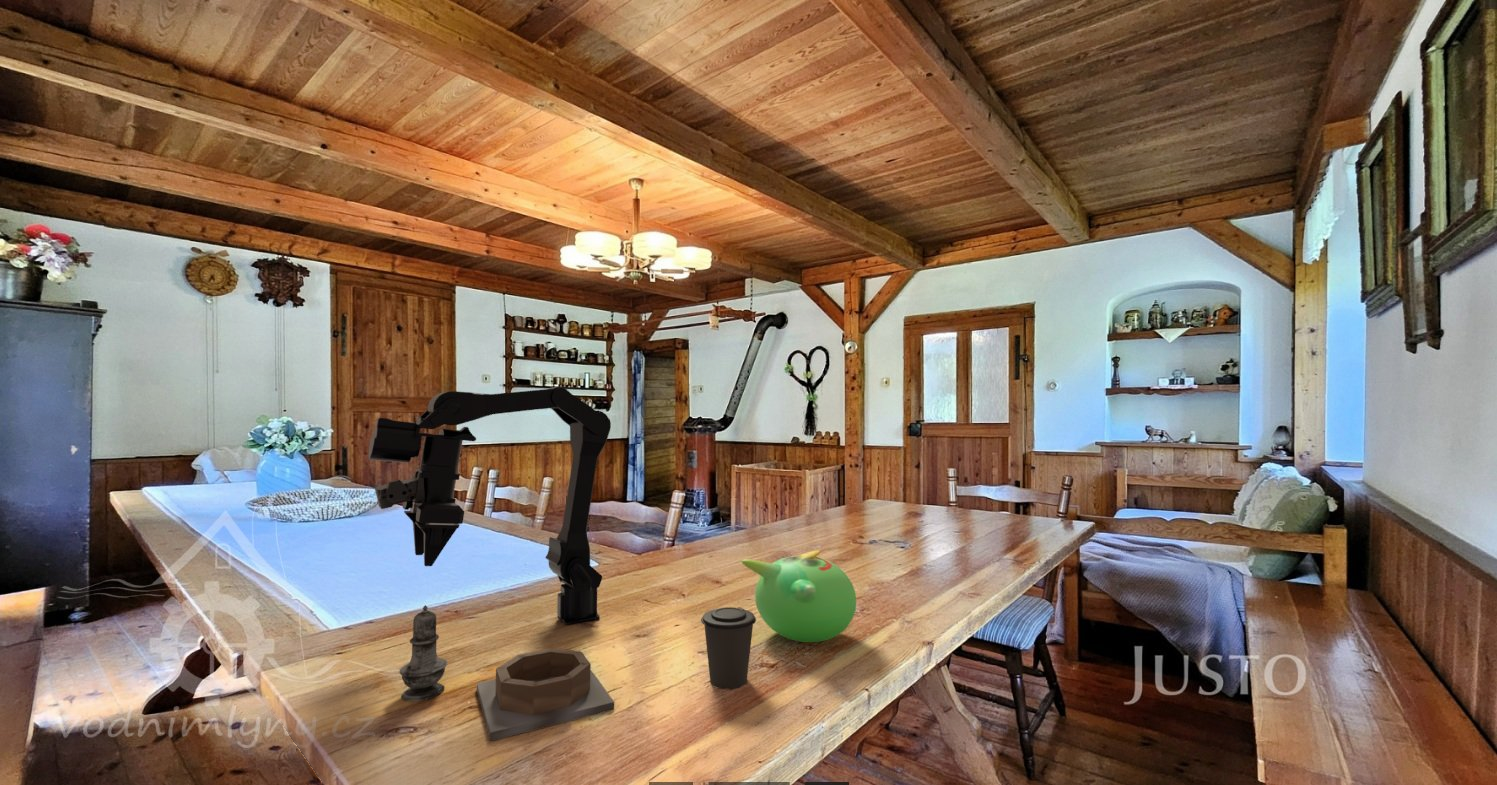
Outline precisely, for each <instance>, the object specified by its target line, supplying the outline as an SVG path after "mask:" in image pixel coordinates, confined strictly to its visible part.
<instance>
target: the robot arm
mask: <svg viewBox="0 0 1497 785" xmlns="http://www.w3.org/2000/svg"><path fill="white" fill-rule="evenodd" d="M543 409H544V410H546V409H551V410H552V411H553V412H554V413H555V414H556V415H557V416H558V417H559V418H560V420H562V421H563V423H566V424H567V425H568V426H569V441H570V445H571V451H572V463H571V469H570V476H569V482H568V488H567V496H566V500H565V508H564V512H563V513H564V514H563V520H562V521H563V522H562V526H561V530H560V532H559V533H558V535H557V536H556V537H553V536H551V537H549V538H548V550H547V554H546V556H545V559H546V560H548V567H549V568H550V570H551V571H552V573H553V574H555V575H557V578H558V580H559V582H560V583H561V584H560V592H558V593H557V600H556V601H557V603H556V604H557V607H556V608H557V609H556V610H557V611H556V612H557V613H556V614H557V616H558V618H559V619H560V620H561V621H562V622H563V624H564V625H570V624H576V623H583V622H588V621H593V620H598V619H601V616H600V614H599V613H598V588H600V586H601V582H602V580H603V575H602V574H601V573H600V572H598V571H597V570H596V569H595V568H594V567H593V566H591V547H590V542H589V537H588V532H587V531H588V525H589V517H590V512H591V504H592V498H593V491H594V483H595V477H596V470H597V463H598V459H599V456H600V455H601V452H602V451H603V449H604V447H605V446H606V444H607V442H608V437H609V435H610V431H611V425H612V422H611V419H610V417H608V415H607V414H606V413H605V412H603V411H601V410H595V409H594V408H593V407H592V406H591V405H589V404H587V403H586V402H584V401H583V400H582V399H580V398H579V397H577V396H575V395H574V394H572V393H571V392H570V391H569V390H568V389H567V388H565V387H563V386H553V387H549V388H546V389H536V390H524V391H515V392H513V391H512V392H502V393H491V394H490V393H479V392H470V391H469V392H468V391H467V392H466V391H455V390H451V391H445V392H441V393H437V394H435V395H434V396H433V397H431V399H430V400H429V402H428V405H427V410H426V411H425V412H423V413H422V414H421V415H420V416H419V417H416V419H415V420H414V421H413V422H410V421H402V420H401V421H400V420H393V419H391V418H387V417H386V418H385V417H378V418H377V419H376V424H375V427H374V430H373V435H372V436H371V437H370V441H369V447H368V461H378V462H379V461H380V462H391V463H392V462H393V463H394V462H396V463H403V464H404V463H405V464H406V463H407V464H409V463H410V462H411V459H413V458H414V459H415V458H418V456H419V455H420V452H421V448H422V453H421V457H420V458H421V459H420V464H419V468H417V469H416V470H415V471H414V473H413V477H412V478H407V479H404V480H400V479H396V480H393V481H387V483H386V484H382V485H379V486H376V487H374V491H375V496H376V499H377V500H376V501H377V503H378V507H379V508H380V509H381V510H385V509H390V508H392V507H393V506H396V505H399V504H400V505H401V504H402V509H404V511H403V513H404V514H405V515H406V516H407V517H408V518H409V520H411V522H412V529H413V530H412V531H413V541H414V542H413V543H414V554H415V555H416V556H423V565H424V567H432V566H433V565H434V563H435V562H436V561H437V559H438V557H439V556H440V554H441V553H442V551H443V549H444V548H445V547H446V545H447V543H448V542H449V541H450V539H451V538H452V537H453V535H454V534H455V532H456V531H457V529H459V528H460V527H461V526H460V525H461V524H463V522H464V518H465V511H464V510H463V508H462V507H461V506H460V505H458V504H457V503H456V501H457V498H455V497H454V494H455V488H456V484H457V481H460V476H461V475H460V473H459V472H458V471H459V463H460V460H461V459H460V458H461V452H462V446H463V442H464V441H467V442H476V440H477V437H476V436H475V435H474V434H473V433H472V432H471V430H470V428H469V427H468V426H462V428H461V429H459V430H458V429H452V428H451V429H449V428H441V429H440V430H439V431H438V434H436V433H428V432H427V433H426V432H420V430H421V429H426V430H434V429H437V428H439V427H441V426H458V425H462V424H467V423H468V422H473V421H476V420H479V419H481V418H485V417H489V416H492V415H498V414H506V413H507V414H508V413H515V412H516V413H517V412H527V411H535V410H543ZM423 437H424V440H423V441H424V442H423V445H422V438H423ZM422 446H423V447H422ZM562 583H563V584H562Z"/></svg>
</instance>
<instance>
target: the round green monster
mask: <svg viewBox="0 0 1497 785" xmlns="http://www.w3.org/2000/svg"><path fill="white" fill-rule="evenodd" d="M821 552H822V551H821V550H818V549H817V550H812V551H811V550H810V551H808V552H805V553H801V554H798V555H791V556H786V557H782V558H780V559H777V560H776V561H774V562H772V563H771V562H766V561H761V560H756V559H749V558H747V559H746V558H745V559H742V560H741V564H742V565H743V566H745V567H747V568H748V569H749V570H751V571H753V572H754V573H756V574H757V575H759V578H758V580H757V582H756V586H755V590H754V597H755V598H754V599H755V600H754V601H755V605H756V608H757V611H758V614H759V615H760V616H761V619H762V620H763V621H764V623H765V624H766V625H767V626H768V627H769V628H771V630H773V631H774V632H775V633H777V634H779V635H781V637H784V638H787V639H789V640H792V641H796V642H801V643H819V642H825V641H828V640H831V639H834V638H835V637H837V636H839V635H840V634H842V633H843V632H844V631H845V630H846V629H847V628H848V627H849V625H850V624H851V622H852V621H853V618H854V616H855V613H856V609H857V594H856V590H855V588H854V585H853V583H852V580H851V579H850V578H849V576H848V575H847V574H846V573H845V572H844V570H842V569H841V568H840V567H838V566H837V565H836V564H835V563H833V562H831V561H829V560H827V559H825V558H821V557H818V555H819V554H821Z"/></svg>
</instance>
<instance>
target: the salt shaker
mask: <svg viewBox="0 0 1497 785" xmlns="http://www.w3.org/2000/svg"><path fill="white" fill-rule="evenodd" d="M428 609H429V607H428V606H427V604H425V605H423V607H422V610H421V611H420V612H418V613H417V614H416V615H415V616H414V617H413V622H412V638H410V640H409V643H410V644H411V657H410V661H409V662H408V663H406V664H404V665H403V666H402V667H401V668H400V669H399V672H398V674H400V675H401V679H402V681H403V683H404V685H405V686H406V687H408V688H407V689H406V690H405V691H403V693H402V694H401V697H400V698H401V700H403V701H404V702H409V703H411V702H412V703H415V702H423V701H428V700H431V699H434V698H436V697H438V696H439V695H441V694H442V693H444V691H445V685H443V684H442V683H439V681H440V680H441V679H442V678H443V676H444V674H445V671H446V667H447V665H448V661H447V659H444V658H441V657H438V652H437V640H439V638H440V635H439V634H437V615H436V613H435V612H433V611H431V610H428Z"/></svg>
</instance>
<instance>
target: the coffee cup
mask: <svg viewBox="0 0 1497 785" xmlns="http://www.w3.org/2000/svg"><path fill="white" fill-rule="evenodd" d="M700 621H701V623H702V624H703V625H704V626H703V627H704V632H705V634H704V635H705V644H706V652H707V653H706V654H707V662H708V672H709V681H710V682H709V683H710V684H711V685H712V686H713V687H715V688H717V689H721V690H735V689H739V688H742V687H744V685H746V684H747V682H748V673H749V665H750V654H751V645H752V637H753V630H754V629H753V628H754V624H756V622H757V618H756V616H755V614H754V613H753V612H752V611H750V610H748V609H747V610H746V609H744V608H743V607H733V606H731V607H730V606H729V607H720V608H713V609H711V610H708V611H706V612H704V613H703V616H702V617H701V619H700Z"/></svg>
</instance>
